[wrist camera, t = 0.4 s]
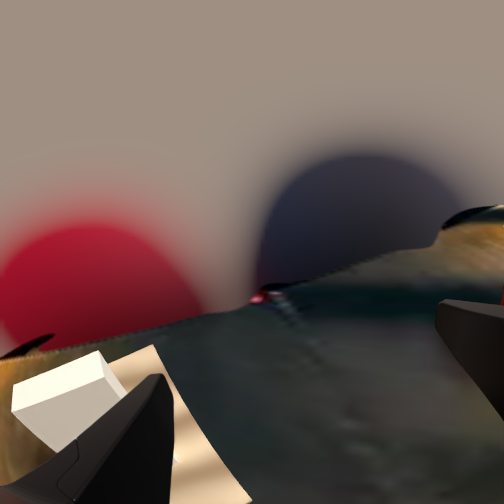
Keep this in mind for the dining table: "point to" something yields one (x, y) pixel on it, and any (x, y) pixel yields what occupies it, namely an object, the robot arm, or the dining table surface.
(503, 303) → the plastic cup
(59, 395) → the card box
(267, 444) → the dining table surface
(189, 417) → the mat
